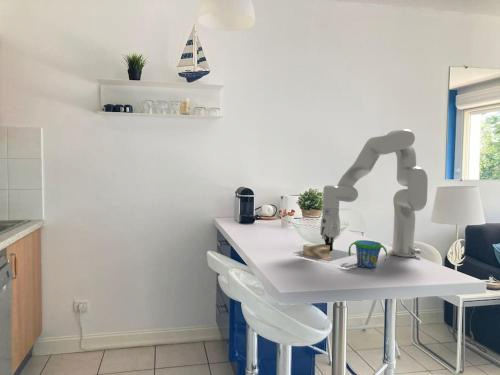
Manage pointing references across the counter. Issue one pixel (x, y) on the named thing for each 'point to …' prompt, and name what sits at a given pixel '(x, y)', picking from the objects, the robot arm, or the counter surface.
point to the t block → (317, 250)
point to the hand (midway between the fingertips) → (328, 250)
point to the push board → (330, 255)
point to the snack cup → (367, 252)
